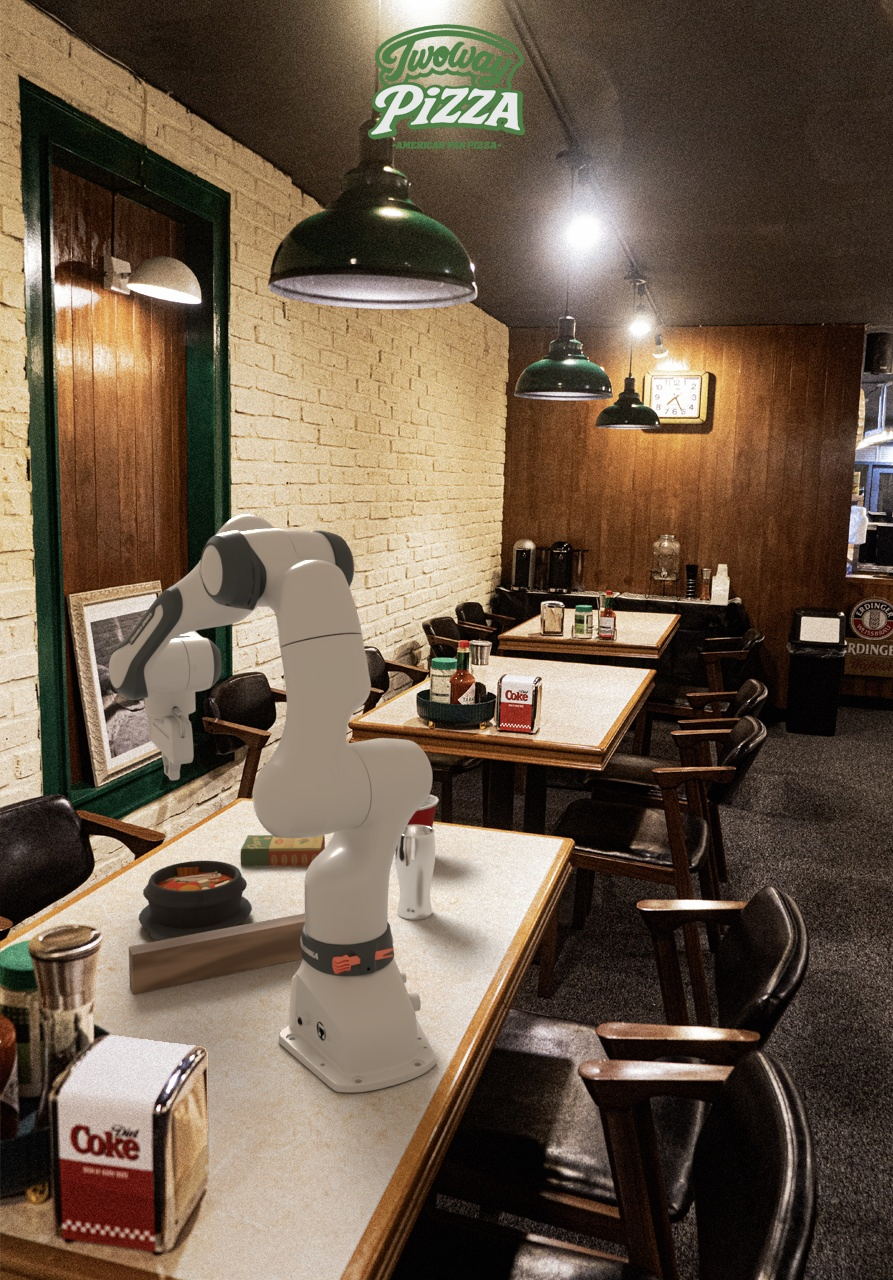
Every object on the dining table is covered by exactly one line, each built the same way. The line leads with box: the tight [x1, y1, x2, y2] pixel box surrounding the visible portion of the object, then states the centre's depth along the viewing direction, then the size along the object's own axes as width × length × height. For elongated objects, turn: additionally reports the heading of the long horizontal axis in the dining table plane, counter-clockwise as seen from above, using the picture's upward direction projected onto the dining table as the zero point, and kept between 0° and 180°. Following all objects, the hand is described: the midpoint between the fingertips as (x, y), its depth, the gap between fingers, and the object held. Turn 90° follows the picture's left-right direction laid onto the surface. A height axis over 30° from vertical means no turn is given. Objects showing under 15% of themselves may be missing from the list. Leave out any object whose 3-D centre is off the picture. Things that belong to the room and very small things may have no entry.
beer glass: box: [394, 825, 436, 921], centre depth 167 cm, size 7×7×15 cm
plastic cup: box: [407, 794, 440, 828], centre depth 195 cm, size 11×11×12 cm
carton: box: [239, 834, 326, 867], centre depth 193 cm, size 8×16×4 cm, turn 92°
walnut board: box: [128, 912, 305, 995], centre depth 145 cm, size 3×28×6 cm, turn 118°
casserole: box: [138, 860, 253, 942], centre depth 162 cm, size 25×19×8 cm
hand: (172, 777), depth 175 cm, fingers closed
